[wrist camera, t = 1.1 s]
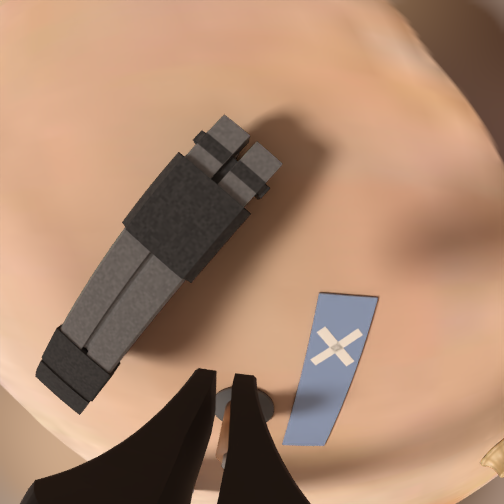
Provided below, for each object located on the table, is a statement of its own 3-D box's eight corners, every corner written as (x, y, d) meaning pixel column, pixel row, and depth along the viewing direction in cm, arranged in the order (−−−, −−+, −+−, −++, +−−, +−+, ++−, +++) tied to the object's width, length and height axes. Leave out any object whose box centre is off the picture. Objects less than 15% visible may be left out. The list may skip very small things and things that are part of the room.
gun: (69, 343, 21) (10, 392, 11) (213, 160, 22) (220, 105, 12) (108, 376, 22) (67, 442, 12) (256, 197, 23) (293, 167, 13)
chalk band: (323, 444, 23) (324, 445, 22) (282, 443, 23) (282, 445, 23) (377, 297, 18) (377, 298, 18) (319, 292, 18) (319, 293, 18)
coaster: (269, 427, 22) (269, 430, 22) (212, 421, 22) (211, 423, 22) (277, 389, 21) (277, 392, 20) (212, 382, 21) (212, 384, 21)
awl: (258, 421, 22) (252, 488, 15) (224, 417, 22) (212, 483, 15) (261, 400, 21) (256, 471, 14) (225, 396, 21) (211, 465, 14)
